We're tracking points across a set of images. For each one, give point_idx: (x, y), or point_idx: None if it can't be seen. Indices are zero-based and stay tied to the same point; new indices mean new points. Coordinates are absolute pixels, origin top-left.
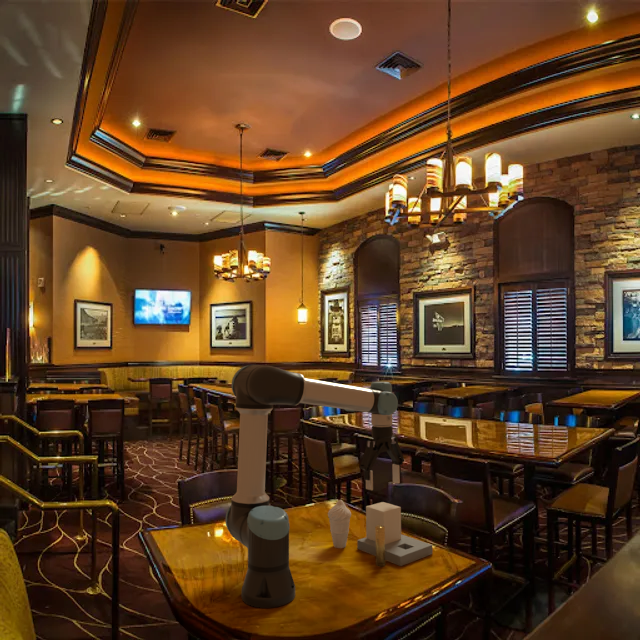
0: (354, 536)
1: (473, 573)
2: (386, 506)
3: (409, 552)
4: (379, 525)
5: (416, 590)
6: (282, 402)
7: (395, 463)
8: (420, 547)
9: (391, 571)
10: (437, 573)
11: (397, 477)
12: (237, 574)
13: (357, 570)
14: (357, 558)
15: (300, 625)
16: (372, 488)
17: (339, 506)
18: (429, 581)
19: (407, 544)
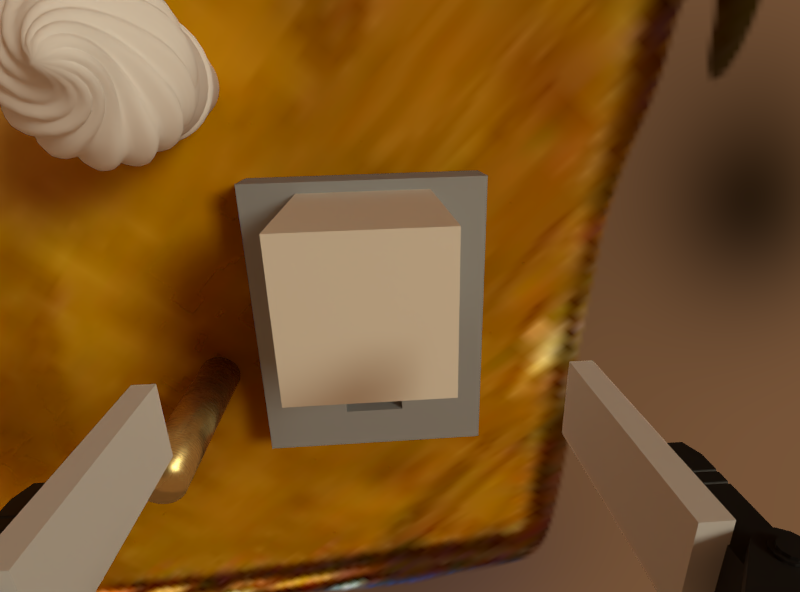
0: (352, 10)
1: (435, 574)
2: (388, 332)
3: (335, 439)
4: (170, 467)
5: (193, 564)
6: None
7: (734, 567)
8: (415, 428)
9: (217, 437)
10: (343, 524)
11: (588, 469)
12: None
13: (102, 362)
14: (174, 269)
15: None
16: (160, 467)
17: (32, 95)
18: (274, 546)
19: None
